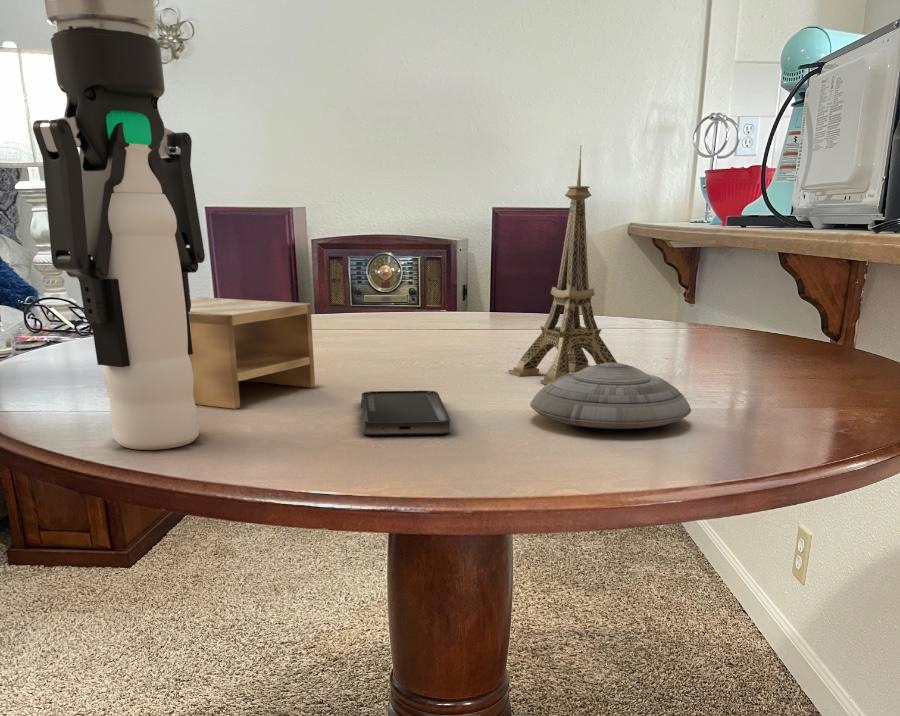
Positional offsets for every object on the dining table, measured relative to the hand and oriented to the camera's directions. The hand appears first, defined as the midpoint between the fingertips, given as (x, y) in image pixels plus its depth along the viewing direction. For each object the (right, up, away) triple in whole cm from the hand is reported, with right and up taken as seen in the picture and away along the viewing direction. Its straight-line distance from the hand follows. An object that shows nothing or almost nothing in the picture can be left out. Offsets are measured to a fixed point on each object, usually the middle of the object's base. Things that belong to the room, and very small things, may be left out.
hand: (147, 358), depth 74 cm
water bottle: (0, -7, +3) cm, 7 cm away
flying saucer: (+40, -3, +11) cm, 42 cm away
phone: (+21, -3, +12) cm, 24 cm away
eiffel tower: (+39, +7, +34) cm, 52 cm away
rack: (0, +3, +24) cm, 25 cm away
